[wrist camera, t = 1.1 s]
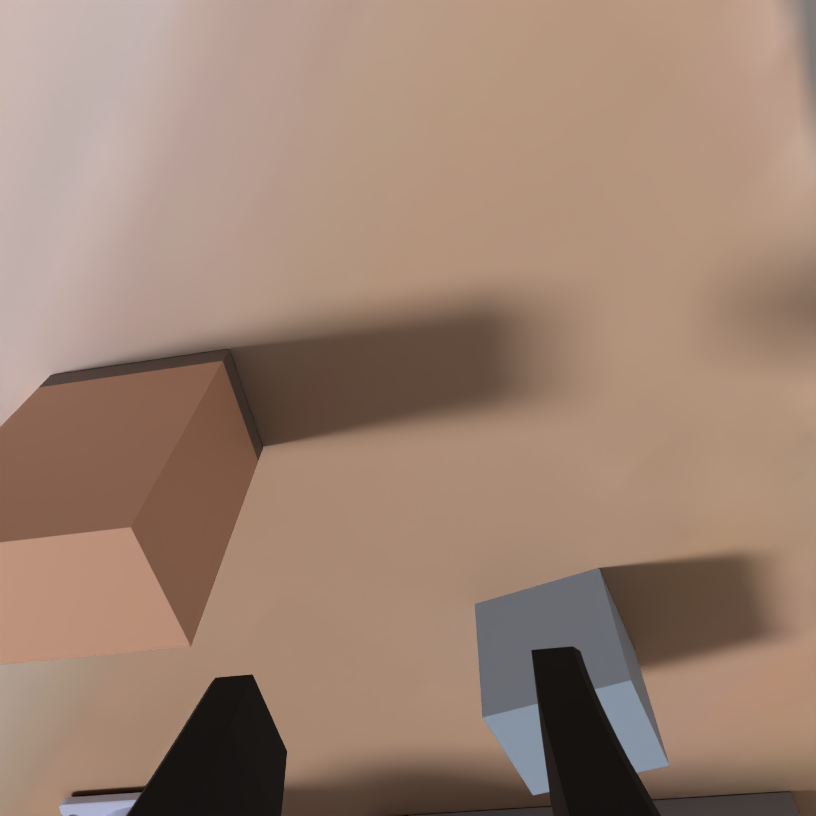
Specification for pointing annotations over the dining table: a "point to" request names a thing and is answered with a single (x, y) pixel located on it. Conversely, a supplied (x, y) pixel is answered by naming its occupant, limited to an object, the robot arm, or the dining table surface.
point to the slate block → (551, 628)
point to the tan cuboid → (120, 505)
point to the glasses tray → (685, 807)
